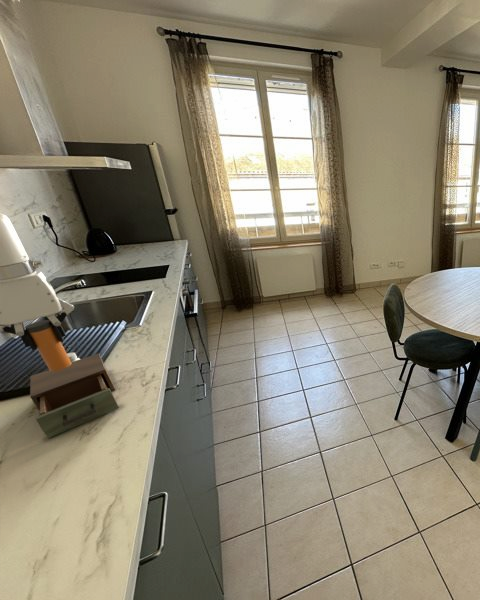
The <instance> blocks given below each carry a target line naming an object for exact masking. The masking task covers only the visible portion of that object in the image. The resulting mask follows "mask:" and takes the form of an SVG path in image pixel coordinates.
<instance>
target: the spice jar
mask: <svg viewBox="0 0 480 600" xmlns="http://www.w3.org/2000/svg"><path fill="white" fill-rule="evenodd" d="M24 329H26V331H27V332H28V333H29V335H30V336H31V338H32V340H33V342H34V343H35V345H36V347H37V348H36V350H37V351H38V352H39V354H40V356H41V358H42V360H43V361H44V363H45V365H46V367H47V368H48V370H50V371H52V372H54V371H59V370H62V369H65V368H67V367H69V366H70V365H71V364H72V363H71V361H70V359H69V357H68V355H67V352H66V349H65V348H64V346H63V344H62V342H59V340H58V338H57V336H56V334H55V332H54V330H53V328H52V322H51V321H50V320H49V319H44V320H39V321H34V322H31V323H29V324H27V325H25V326H24Z"/></svg>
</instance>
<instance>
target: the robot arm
mask: <svg viewBox="0 0 480 600" xmlns="http://www.w3.org/2000/svg"><path fill="white" fill-rule="evenodd" d="M41 267H43V263H42V261H41V260H31V258H30V257H29V254H28V253H27V251H26V250H25V247H24V245H23V243H22V241H21V239H20V238H19V235H18V233H17V231H16V229H15V227H14V225H13V223H12V221H11V220H10V218H9V217H8V216H7V215H6V214H4V213H1V212H0V332H4V333H8V334H11V335H15V336H17V337H20V339H21V341H22V342H23V344H24V346H25V348H29V347H30V349H31V351H34V350H37V347H36V345H35V343H34V342H33V340H32V338H31V336H30V335H29V333H28V332H27V331H26V329H25V326H24V322H29V321H32V320H38V319H42V318H45V317H46V318H47V320H50V322H51V323H52V328H53V330H54V332H55V334H56V336H57V338H58V340H59V342H61V343H63V342H64V341H65V340H64V337H66V336H67V334H66V332H65V330H64V328H63V326H62V323H63V321H64V320H65V319H66V318H67V316H68V315H69V314H70V313H72V312H73V311H74V310H75V305H73V304H71V303H69V302H67V301H65V300H63V299H61V298H60V297H59V296H58V295H57V293H56V291H55V289H54V287H53V286H52V284H51V282H50V281H49V279H48V278H47V277H46V275H44V273H43V272H42V271H41V270H37V269H39V268H41ZM62 308H63V309H62Z"/></svg>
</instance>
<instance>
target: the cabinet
mask: <svg viewBox="0 0 480 600" xmlns="http://www.w3.org/2000/svg"><path fill="white" fill-rule="evenodd" d="M79 359H80V360H77V361H74V362H71V363H72V364H71V365H70V366H69V367H67V368H65V369H62V370H59V371H54V372H52V371H50V370H49V369H48V370H44V371H41V372H39V373H36V374H33V375H30V380H29V381H30V382H29V383H30V386H29V387H30V388H29V389H30V390H29V394H30V395H29V396H30V399H31V401H32V403H33V404H34V405H35V407H36V408H37V410H38V412H39V413H40V396H42V395H45V394H48V393H50V392H53V391H56V390H59V389H61V388H64V387H67V386H69V385H72V384H75V383H78V382H80V381H83V380H86V379H88V378H91V377H94V376H97V375H99V374H101V376H102V378H103V380H104V382H105V384H106V386H107V388H110V390H111V392H114V391H116V387H115V386H114V382H113V381H112V378H111V376H110V375H111V374H110V373H109V371H108V368H107V367H106V365H105V363H104V361H103V358H102V357H101V355H100V353H95V354H92V355H90V356H86V357H84V358H79Z"/></svg>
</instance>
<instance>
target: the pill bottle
mask: <svg viewBox="0 0 480 600" xmlns="http://www.w3.org/2000/svg"><path fill="white" fill-rule="evenodd" d="M66 353H67V352H66ZM67 355H68V357H69V359H70V361H71V362H74V361H77V360H80V359H81V358H80V357H78V356H77V354H76V352H68V353H67Z"/></svg>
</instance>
